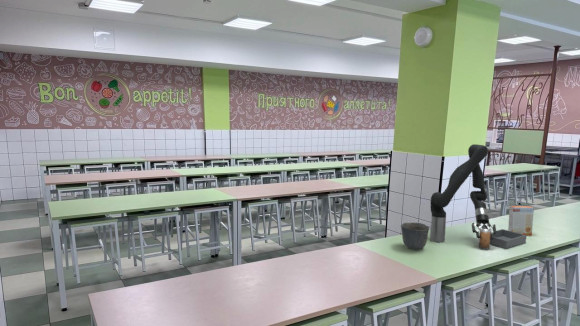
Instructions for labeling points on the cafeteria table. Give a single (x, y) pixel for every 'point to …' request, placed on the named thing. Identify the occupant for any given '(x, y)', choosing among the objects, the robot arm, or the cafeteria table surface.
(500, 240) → the gray tray
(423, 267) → the cafeteria table surface
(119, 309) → the cafeteria table surface
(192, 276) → the cafeteria table surface
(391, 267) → the cafeteria table surface
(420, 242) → the dark grey plant pot
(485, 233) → the tin can
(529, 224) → the cracker box
